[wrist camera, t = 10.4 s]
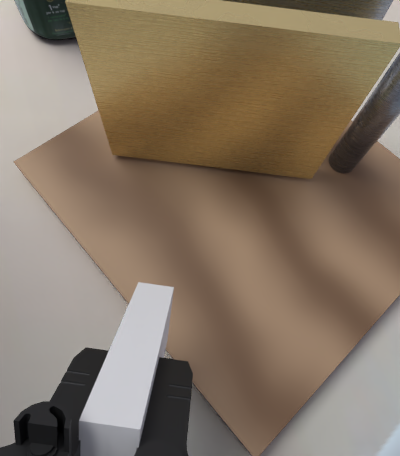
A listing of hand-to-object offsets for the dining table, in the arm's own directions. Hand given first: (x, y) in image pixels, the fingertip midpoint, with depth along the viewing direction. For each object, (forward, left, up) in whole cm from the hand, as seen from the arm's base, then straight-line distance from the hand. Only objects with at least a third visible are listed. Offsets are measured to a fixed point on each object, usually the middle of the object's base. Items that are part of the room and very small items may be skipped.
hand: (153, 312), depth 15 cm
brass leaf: (+1, +11, -4) cm, 12 cm away
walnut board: (+3, +9, -6) cm, 11 cm away
